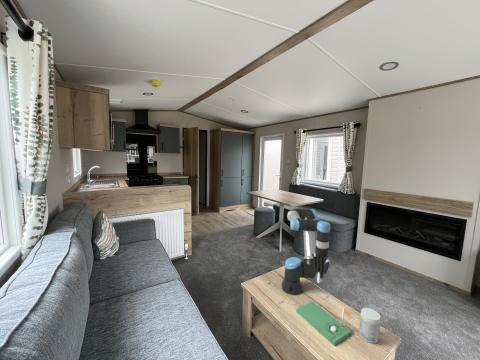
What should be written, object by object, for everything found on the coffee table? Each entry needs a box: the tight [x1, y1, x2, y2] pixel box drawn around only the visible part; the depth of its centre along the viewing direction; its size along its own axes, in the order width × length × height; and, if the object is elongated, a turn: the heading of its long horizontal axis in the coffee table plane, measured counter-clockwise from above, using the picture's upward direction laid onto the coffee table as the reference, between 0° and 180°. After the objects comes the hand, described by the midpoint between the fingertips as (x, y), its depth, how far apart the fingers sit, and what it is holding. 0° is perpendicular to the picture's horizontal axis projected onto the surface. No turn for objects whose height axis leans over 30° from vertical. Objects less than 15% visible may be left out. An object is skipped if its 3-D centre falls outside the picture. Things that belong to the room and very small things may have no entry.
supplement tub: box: [358, 307, 382, 344], centre depth 119 cm, size 10×10×15 cm
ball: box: [330, 326, 337, 332], centre depth 122 cm, size 3×3×3 cm
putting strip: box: [295, 301, 352, 346], centre depth 129 cm, size 28×15×14 cm, turn 31°
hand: (319, 281), depth 133 cm, fingers closed
